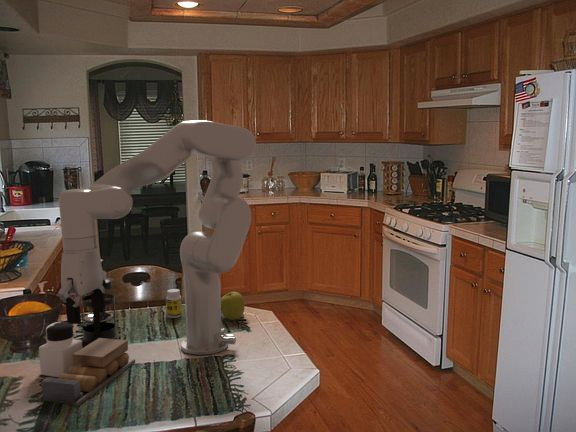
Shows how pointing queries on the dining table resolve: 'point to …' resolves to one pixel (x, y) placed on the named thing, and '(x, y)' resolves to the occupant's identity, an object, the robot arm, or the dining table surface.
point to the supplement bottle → (173, 303)
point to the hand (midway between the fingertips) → (86, 316)
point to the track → (100, 374)
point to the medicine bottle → (58, 349)
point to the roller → (82, 381)
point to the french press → (99, 318)
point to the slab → (100, 352)
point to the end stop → (61, 390)
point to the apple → (232, 305)
